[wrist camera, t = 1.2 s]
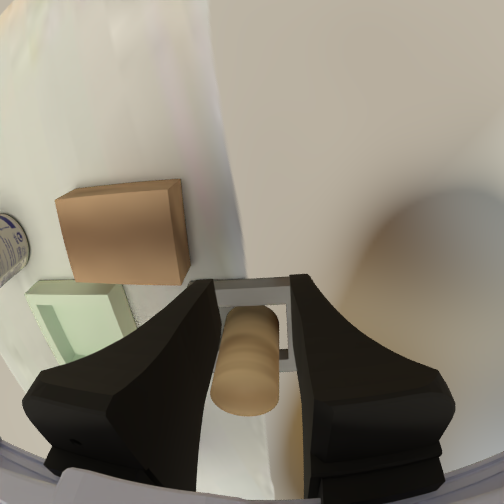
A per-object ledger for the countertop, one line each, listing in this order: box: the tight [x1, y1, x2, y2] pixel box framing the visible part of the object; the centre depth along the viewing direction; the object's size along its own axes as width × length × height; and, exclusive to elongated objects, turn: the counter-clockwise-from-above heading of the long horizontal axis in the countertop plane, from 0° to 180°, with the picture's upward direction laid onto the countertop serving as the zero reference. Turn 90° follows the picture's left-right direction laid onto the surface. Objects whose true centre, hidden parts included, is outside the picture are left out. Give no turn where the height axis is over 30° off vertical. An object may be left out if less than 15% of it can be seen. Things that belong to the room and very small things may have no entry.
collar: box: [188, 277, 297, 373], centre depth 23 cm, size 8×8×1 cm
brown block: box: [55, 179, 191, 285], centre depth 20 cm, size 6×8×3 cm
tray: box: [24, 280, 137, 365], centre depth 24 cm, size 9×9×2 cm
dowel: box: [210, 305, 279, 416], centre depth 20 cm, size 4×4×7 cm
